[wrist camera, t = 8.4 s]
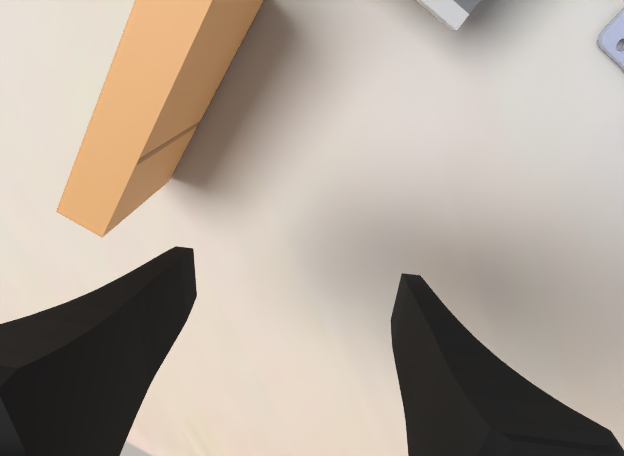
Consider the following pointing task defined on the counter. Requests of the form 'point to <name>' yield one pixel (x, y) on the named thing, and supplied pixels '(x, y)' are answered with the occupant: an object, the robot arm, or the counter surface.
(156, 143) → the orange rectangular block
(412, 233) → the counter surface
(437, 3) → the dispenser
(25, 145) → the counter surface
